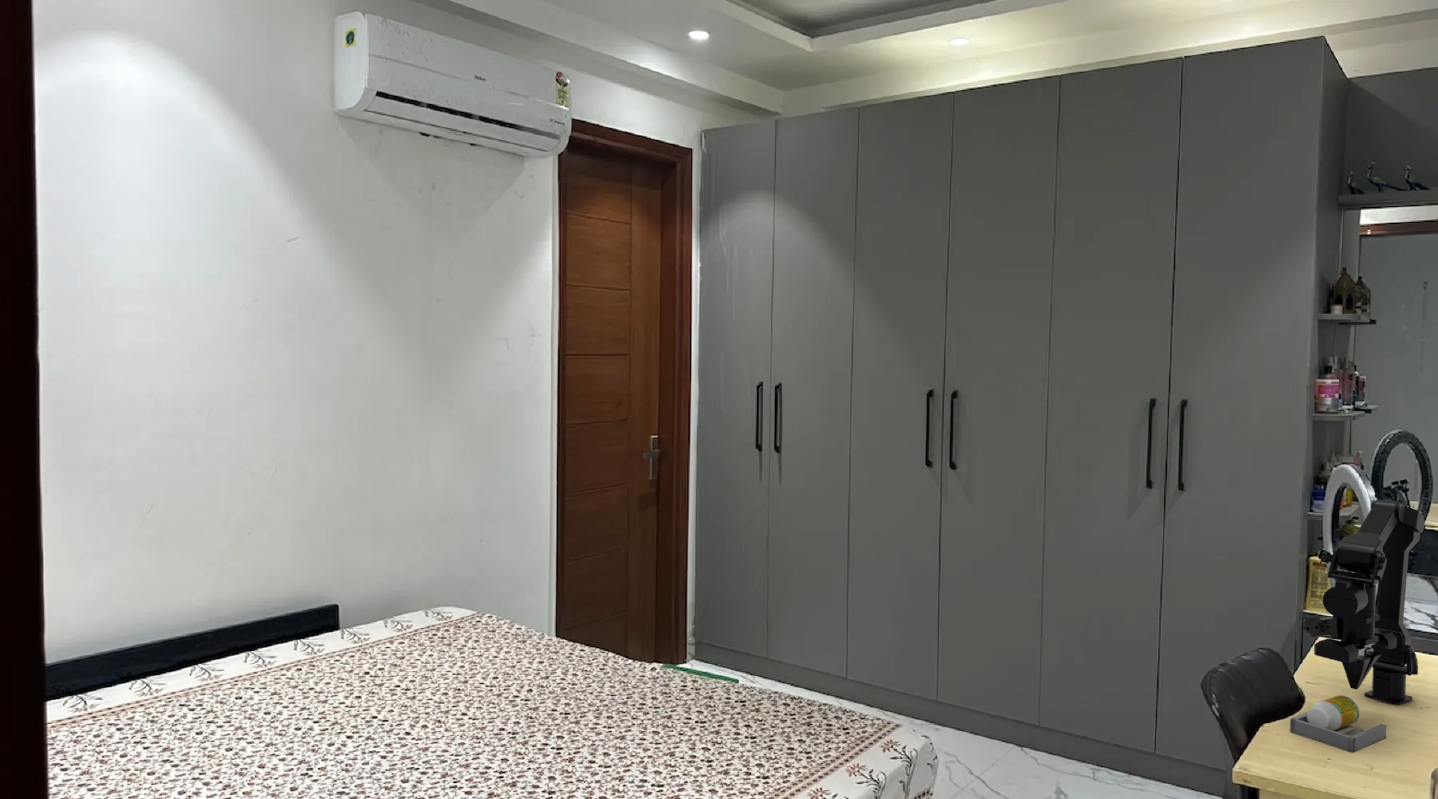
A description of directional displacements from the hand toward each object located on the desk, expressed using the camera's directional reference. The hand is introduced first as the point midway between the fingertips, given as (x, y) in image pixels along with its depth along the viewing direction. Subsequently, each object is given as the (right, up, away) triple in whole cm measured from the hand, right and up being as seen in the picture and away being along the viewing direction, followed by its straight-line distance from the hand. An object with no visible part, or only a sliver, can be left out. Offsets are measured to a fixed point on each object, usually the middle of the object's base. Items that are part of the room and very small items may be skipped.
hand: (1354, 688), depth 186 cm
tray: (-5, -8, -3) cm, 10 cm away
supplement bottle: (-1, -4, +1) cm, 5 cm away
